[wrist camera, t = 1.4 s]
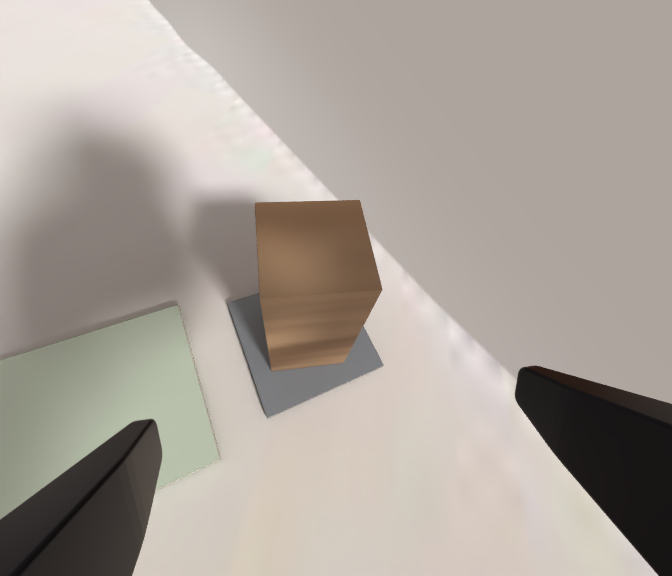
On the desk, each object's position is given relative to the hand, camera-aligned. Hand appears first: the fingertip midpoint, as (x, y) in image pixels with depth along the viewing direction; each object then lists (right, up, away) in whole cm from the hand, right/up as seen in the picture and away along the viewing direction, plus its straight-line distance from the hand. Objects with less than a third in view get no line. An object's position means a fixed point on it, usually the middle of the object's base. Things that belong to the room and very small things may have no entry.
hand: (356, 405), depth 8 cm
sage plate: (-13, -4, +11) cm, 18 cm away
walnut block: (-3, 0, +14) cm, 14 cm away
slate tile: (-3, 0, +14) cm, 15 cm away
